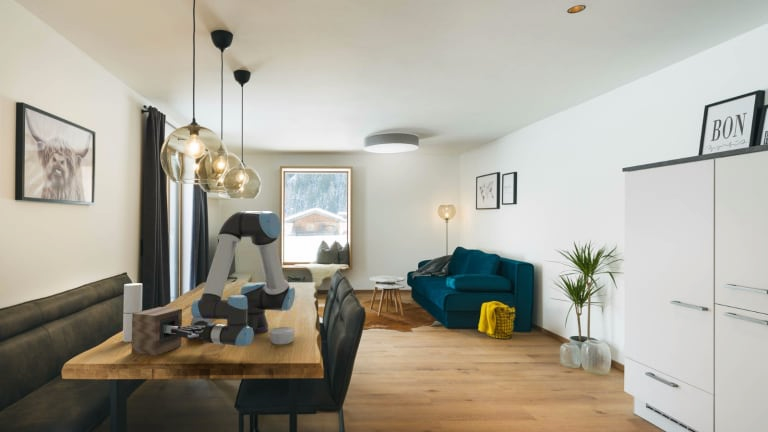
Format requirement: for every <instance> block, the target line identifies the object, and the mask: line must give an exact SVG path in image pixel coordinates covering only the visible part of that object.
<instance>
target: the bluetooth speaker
mask: <svg viewBox="0 0 768 432" xmlns="http://www.w3.org/2000/svg"><path fill="white" fill-rule="evenodd" d="M207 324H213V319H203V318H196V317H194V316H192V319H191V322H190V326H206V325H207Z"/></svg>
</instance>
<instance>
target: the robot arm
mask: <svg viewBox="0 0 768 432" xmlns="http://www.w3.org/2000/svg"><path fill="white" fill-rule="evenodd" d="M281 226H282V225H281V220H280V217H279V215H278V214H277V213H275V212H274V211H268V210H262V211H259V210H258V211H257V210H256V211H255V210H253V211H252V210H249V211H247V210H240V211H238V212H237V211H236V212H235V213H234V214H231V216H229V217H228V218H227V219H226V220H225V222H223V224H222V225H221V228H220V230H219V232H218V235H217V239H218V242H217V243H218V244H217V247H216V251H215V252H214V255H213V259H212V263H211V264H210V265H211V266H210V269H209V272H208V275H207V279H206V282H205V284H204V287H203V292H202V294H201V297H200V298H196V299H195V300H194V301H193V302H192V304H191V305H190V313H191V315H192V317H196V318H203V319H212V320H225V321H227V323H226V324H221V323H212V324H207V325H206V326H191V325H186V326H182V327H181V326H166V333H171V334H176V336H178V337H182V339H187V340H189V341H190V340H192V339H193V338H195V339H201V340H202V341H203V342H204V343H206V344H216V345H220V346H223V345H227V346H233V347H247V346H250V344H251V343H252V342H253V340H254V335H255V334H260V333H265V332H267V331H268V330H269V323H268V320H267V316H266V311H277V312H278V311H279V312H283V311H290V310H291V309H292V307H293V305H294V302H295V298H296V290H295V288H294V286H290V284H289V282H288V281H287V279H285V276H284V273H283V268H282V264H281V261H280V259H281V258H280V255H279V254H280V253H279V251H278V246H277V240H278V238H279V236H280V234H281V231H282V229H281ZM243 238H250V240H251V243H252V244H253V245H254V246H256V249H257V252H258V257H259V261H260V265H261V268H262V272H263V277H264V281H265V282H255V283H248V284H245V285H243V286H241V289H240V294H233V295H230V296H228V297H227V299H222V297H223V294H224V290H225V286H226V283H227V281H228V276H229V273H230V270H231V266H232V262H233V260H234V256H235V252H236V249H237V246H238V245H239V244H240V243H241V241H242V239H243Z"/></svg>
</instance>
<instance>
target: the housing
mask: <svg viewBox="0 0 768 432" xmlns="http://www.w3.org/2000/svg"><path fill="white" fill-rule="evenodd" d="M182 322H183V308H175V307H166V306H165V307H164V306H158V307H155V308H153V307H152V308H150V309H147V310H146V309H145V310H142V311H141V312H137V313H133V314H132V342H131V354H136V355H137V354H139V355H146V356H152V357H153V356H158V355H160V354H164V353H166V352H169V351H171V350H174V349H177V348H180V347H182V339H183V337H178V336H176V334H171V333H170V334H168V335H164V323H171V324H172V326H181V327H183V326H182V325H183V323H182Z"/></svg>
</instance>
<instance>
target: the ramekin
mask: <svg viewBox="0 0 768 432" xmlns="http://www.w3.org/2000/svg"><path fill="white" fill-rule="evenodd" d="M295 332H296V331H295V329H294V328H293V327H285V326H284V327H283V326H281V327H275V328H272V329H270V330H269V331H268V334H269V338H270V342H271V343H272V344H273V345H287V344H290V343H292V342H293V340H294V335H295Z"/></svg>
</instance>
